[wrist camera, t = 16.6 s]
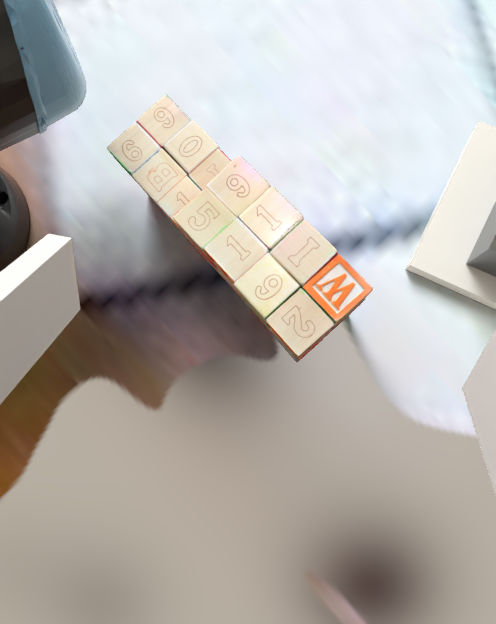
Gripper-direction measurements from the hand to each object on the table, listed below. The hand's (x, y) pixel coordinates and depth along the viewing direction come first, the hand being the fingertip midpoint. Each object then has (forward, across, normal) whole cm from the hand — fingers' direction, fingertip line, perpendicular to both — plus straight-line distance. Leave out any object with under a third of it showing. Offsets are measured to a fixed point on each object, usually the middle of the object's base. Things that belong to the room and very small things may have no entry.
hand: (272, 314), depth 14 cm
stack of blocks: (+25, -4, -12) cm, 28 cm away
